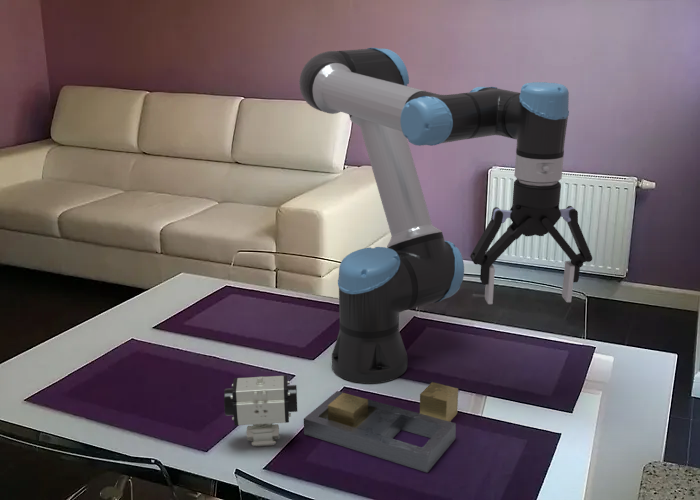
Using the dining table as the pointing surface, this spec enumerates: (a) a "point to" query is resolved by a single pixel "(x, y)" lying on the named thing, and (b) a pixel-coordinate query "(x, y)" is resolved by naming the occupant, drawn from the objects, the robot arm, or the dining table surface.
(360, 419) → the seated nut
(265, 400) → the pneumatic valve
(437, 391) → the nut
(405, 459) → the tray
